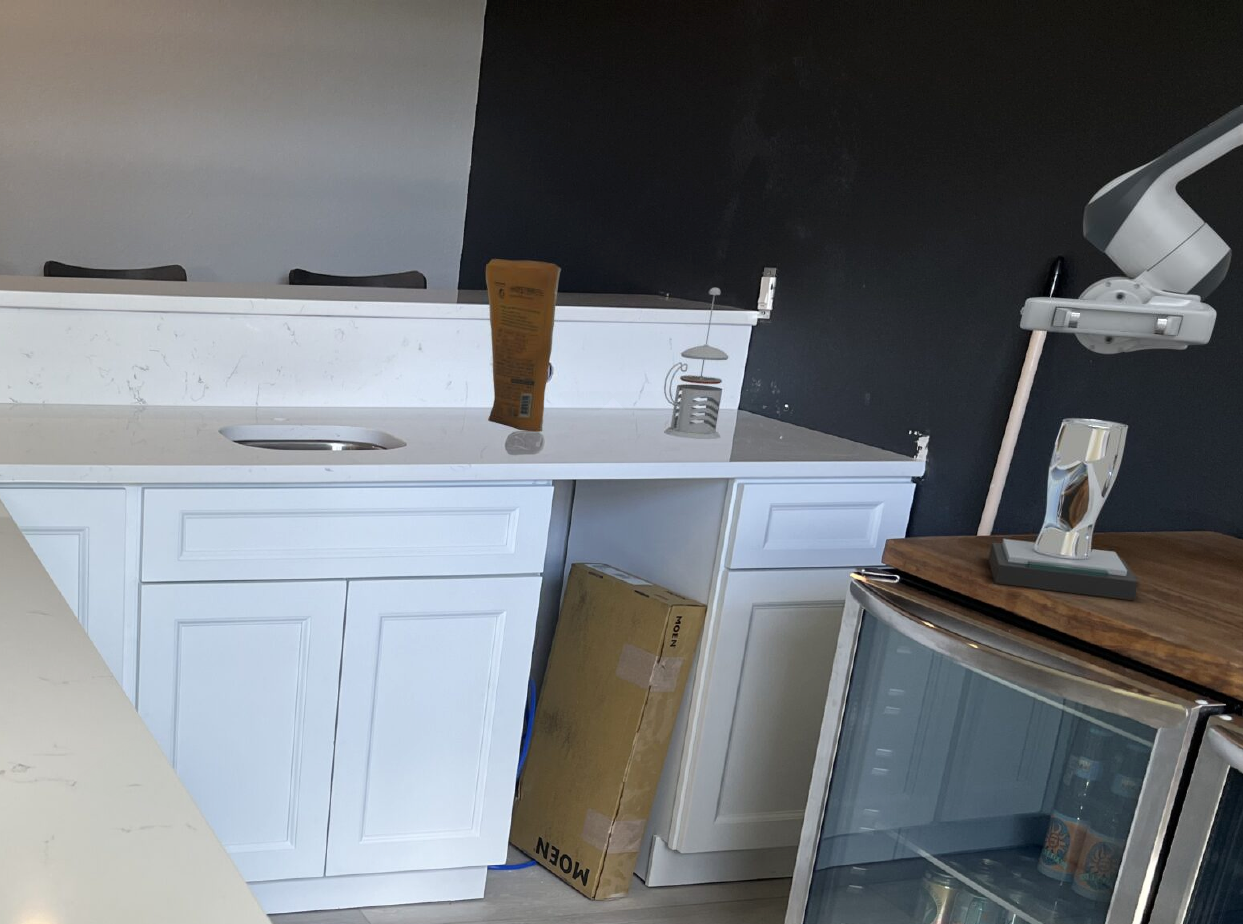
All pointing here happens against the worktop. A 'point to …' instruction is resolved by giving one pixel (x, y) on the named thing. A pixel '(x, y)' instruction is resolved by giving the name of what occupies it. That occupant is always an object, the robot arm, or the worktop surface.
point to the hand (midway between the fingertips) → (1117, 323)
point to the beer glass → (1079, 485)
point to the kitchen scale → (1062, 571)
